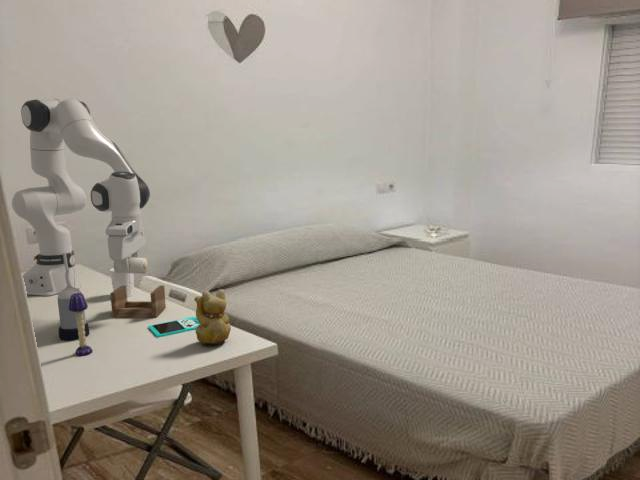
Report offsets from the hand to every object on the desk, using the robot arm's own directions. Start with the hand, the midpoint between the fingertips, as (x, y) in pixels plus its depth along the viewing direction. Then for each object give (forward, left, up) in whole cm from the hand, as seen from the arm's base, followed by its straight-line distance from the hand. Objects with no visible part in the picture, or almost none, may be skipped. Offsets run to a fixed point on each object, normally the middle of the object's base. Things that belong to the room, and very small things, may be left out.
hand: (130, 267), depth 175 cm
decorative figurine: (+32, -22, -16) cm, 42 cm away
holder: (+1, +3, -16) cm, 16 cm away
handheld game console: (+18, -10, -17) cm, 26 cm away
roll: (0, +1, -2) cm, 2 cm away
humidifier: (-11, -17, -16) cm, 26 cm away
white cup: (-12, +22, -16) cm, 30 cm away
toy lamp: (-2, -30, -16) cm, 34 cm away
